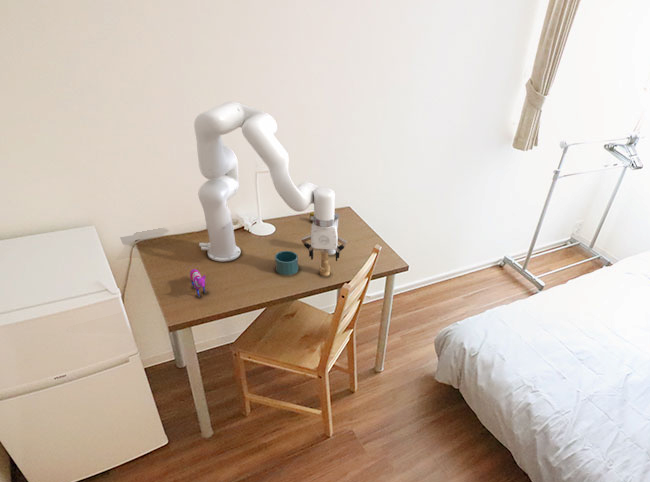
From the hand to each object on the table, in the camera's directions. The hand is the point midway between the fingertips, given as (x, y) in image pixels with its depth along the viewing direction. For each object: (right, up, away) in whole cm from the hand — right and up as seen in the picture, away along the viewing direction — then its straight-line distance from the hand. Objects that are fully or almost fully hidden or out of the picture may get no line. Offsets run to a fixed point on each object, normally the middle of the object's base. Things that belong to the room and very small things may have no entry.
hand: (324, 258), depth 185 cm
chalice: (-2, +5, +18) cm, 19 cm away
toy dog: (-43, -14, -15) cm, 47 cm away
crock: (-16, -4, +3) cm, 17 cm away
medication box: (-10, +21, +37) cm, 44 cm away
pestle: (-1, -6, +5) cm, 8 cm away
